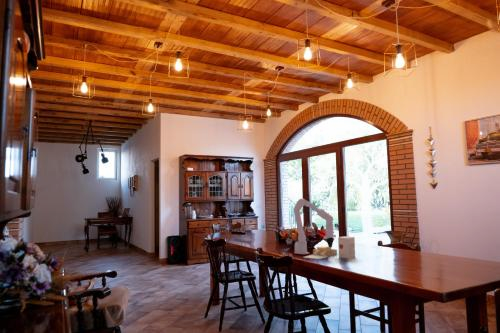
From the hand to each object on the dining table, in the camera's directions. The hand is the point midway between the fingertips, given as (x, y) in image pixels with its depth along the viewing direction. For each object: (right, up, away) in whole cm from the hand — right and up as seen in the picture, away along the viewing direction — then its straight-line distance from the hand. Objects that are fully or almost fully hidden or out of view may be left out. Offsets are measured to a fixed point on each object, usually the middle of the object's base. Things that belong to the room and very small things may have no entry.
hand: (330, 247), depth 284 cm
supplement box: (+8, -3, -19) cm, 21 cm away
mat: (-15, -4, -15) cm, 21 cm away
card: (-6, -1, -6) cm, 9 cm away
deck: (-5, -5, -6) cm, 9 cm away
